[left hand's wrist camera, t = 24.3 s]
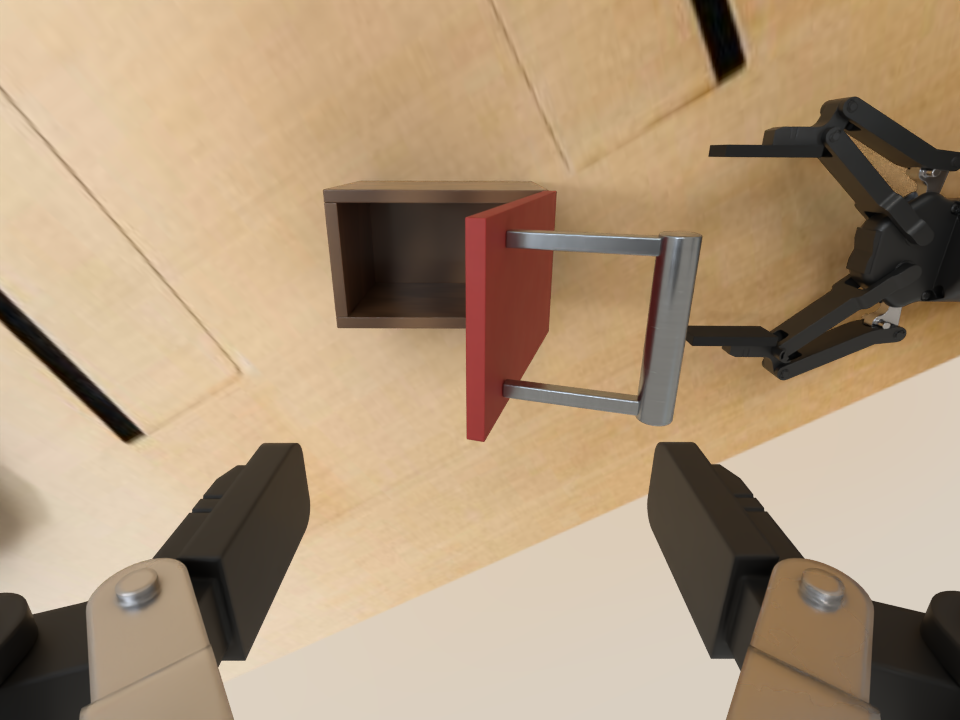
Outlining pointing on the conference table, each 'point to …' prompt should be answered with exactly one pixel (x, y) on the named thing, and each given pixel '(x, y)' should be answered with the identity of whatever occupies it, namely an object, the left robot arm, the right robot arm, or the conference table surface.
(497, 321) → the lid
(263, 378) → the conference table surface
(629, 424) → the conference table surface
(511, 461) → the conference table surface
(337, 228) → the chest
